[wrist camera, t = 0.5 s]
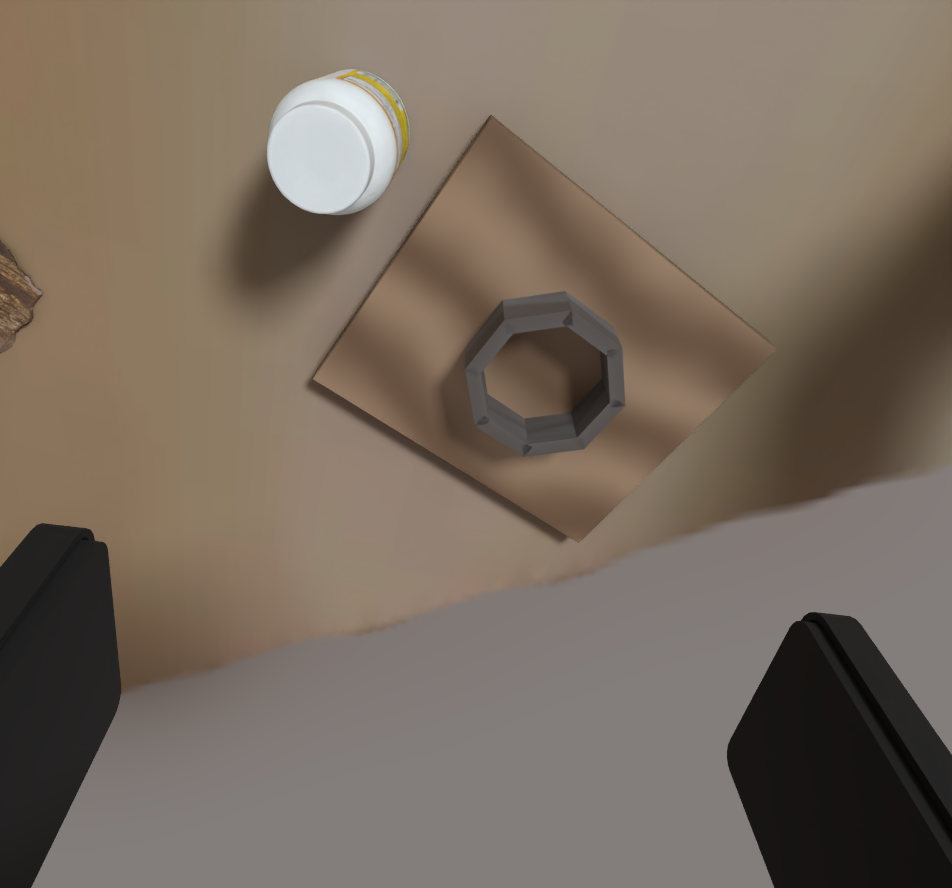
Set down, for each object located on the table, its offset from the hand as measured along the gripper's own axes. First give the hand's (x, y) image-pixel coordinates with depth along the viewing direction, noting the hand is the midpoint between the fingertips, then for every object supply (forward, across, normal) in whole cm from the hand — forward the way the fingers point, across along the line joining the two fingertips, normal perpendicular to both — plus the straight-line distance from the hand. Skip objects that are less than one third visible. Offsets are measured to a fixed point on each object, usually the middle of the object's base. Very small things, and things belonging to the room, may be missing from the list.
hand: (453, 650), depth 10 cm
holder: (+32, -7, +8) cm, 33 cm away
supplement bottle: (+32, +5, -2) cm, 32 cm away
